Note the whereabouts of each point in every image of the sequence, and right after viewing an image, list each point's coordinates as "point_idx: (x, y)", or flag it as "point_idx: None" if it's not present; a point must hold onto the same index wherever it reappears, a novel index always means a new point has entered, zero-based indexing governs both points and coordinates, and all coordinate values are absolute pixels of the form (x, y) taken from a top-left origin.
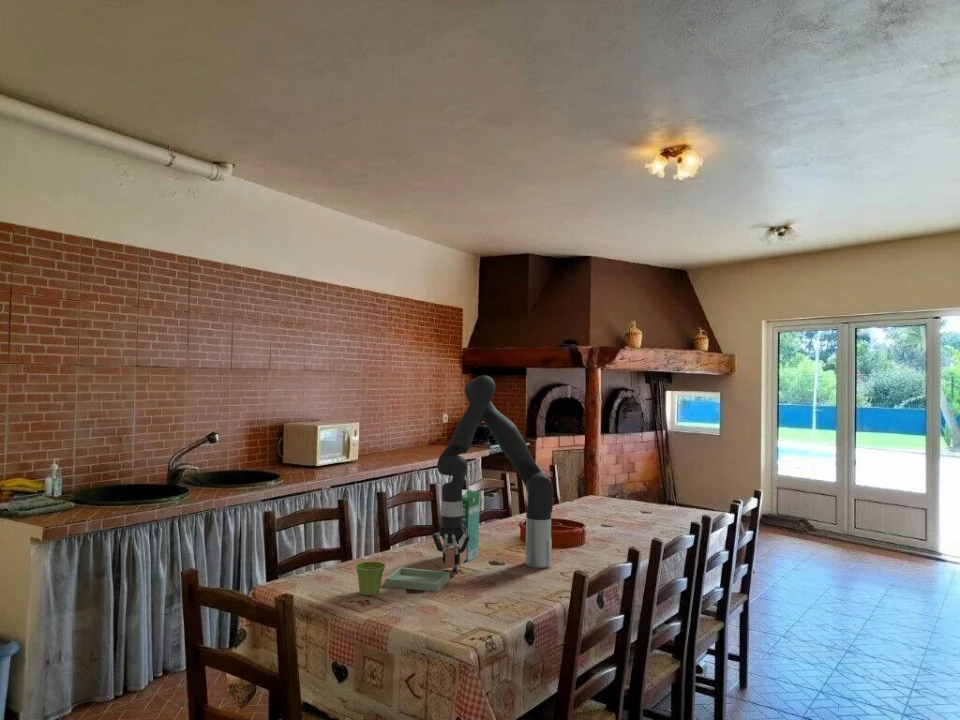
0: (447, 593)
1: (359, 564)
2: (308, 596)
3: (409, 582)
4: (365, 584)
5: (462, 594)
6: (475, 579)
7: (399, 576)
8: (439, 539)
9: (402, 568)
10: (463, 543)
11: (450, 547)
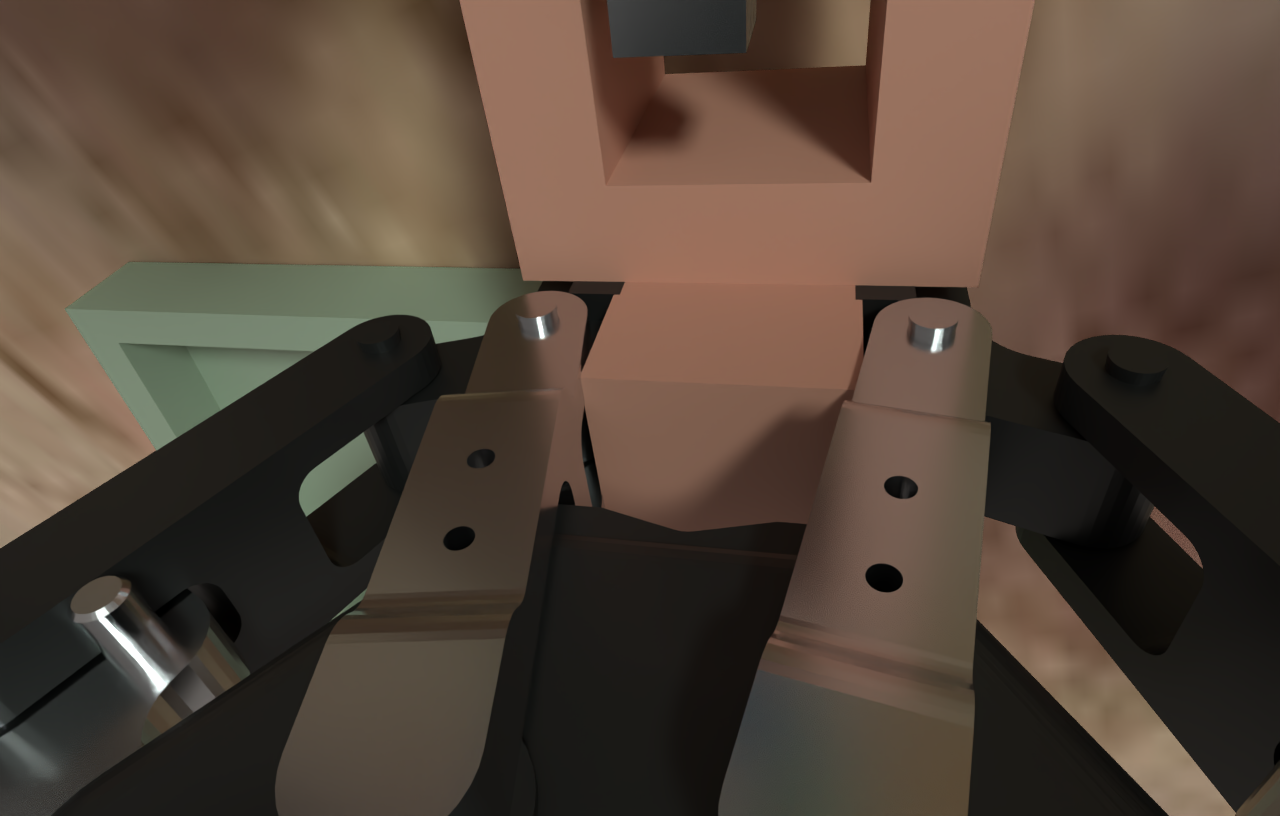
0: None
1: None
2: None
3: None
4: None
5: (1046, 637)
6: (1255, 148)
7: (225, 394)
8: (201, 528)
9: (128, 343)
10: (1207, 765)
11: (661, 394)
